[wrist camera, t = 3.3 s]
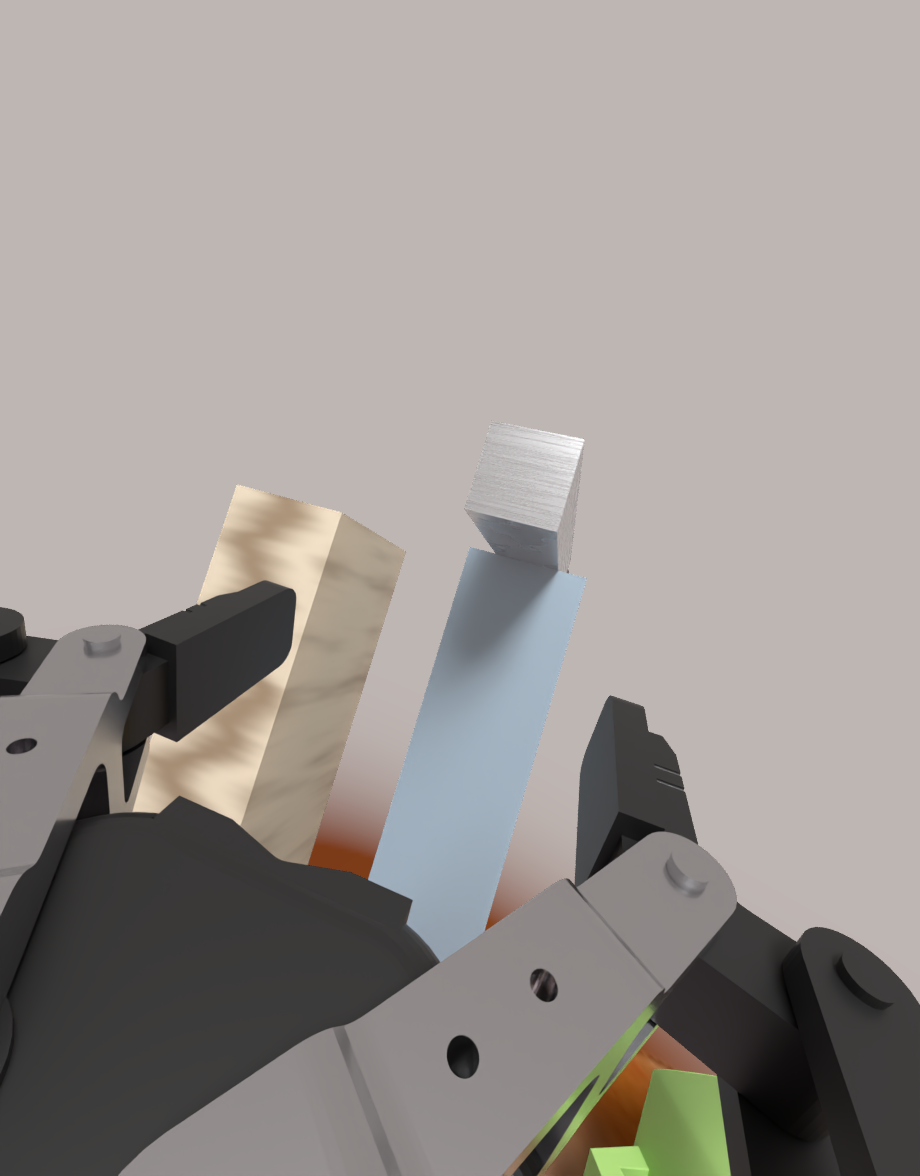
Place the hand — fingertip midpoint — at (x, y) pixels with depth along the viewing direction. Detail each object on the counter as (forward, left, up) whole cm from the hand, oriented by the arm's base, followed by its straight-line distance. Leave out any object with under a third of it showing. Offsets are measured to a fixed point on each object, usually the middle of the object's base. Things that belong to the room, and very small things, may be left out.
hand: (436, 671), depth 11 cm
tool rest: (-14, +17, -27) cm, 35 cm away
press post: (0, +17, -27) cm, 32 cm away
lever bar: (0, +17, +5) cm, 17 cm away
